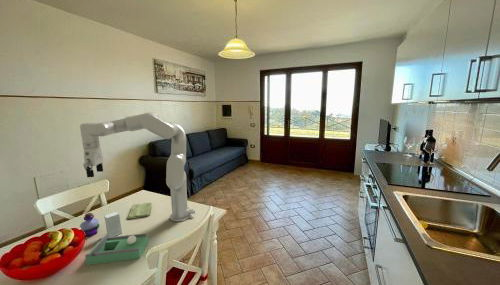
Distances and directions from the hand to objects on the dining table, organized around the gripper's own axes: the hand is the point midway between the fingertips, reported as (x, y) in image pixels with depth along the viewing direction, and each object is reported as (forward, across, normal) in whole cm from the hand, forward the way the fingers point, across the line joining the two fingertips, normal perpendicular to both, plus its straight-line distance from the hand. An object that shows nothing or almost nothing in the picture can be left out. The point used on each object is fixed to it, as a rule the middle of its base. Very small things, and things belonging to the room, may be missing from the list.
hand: (95, 174), depth 119 cm
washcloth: (+32, +11, -18) cm, 38 cm away
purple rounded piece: (+31, -10, +1) cm, 33 cm away
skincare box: (+31, -13, -12) cm, 36 cm away
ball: (+25, -29, -27) cm, 47 cm away
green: (+31, -29, -21) cm, 47 cm away
